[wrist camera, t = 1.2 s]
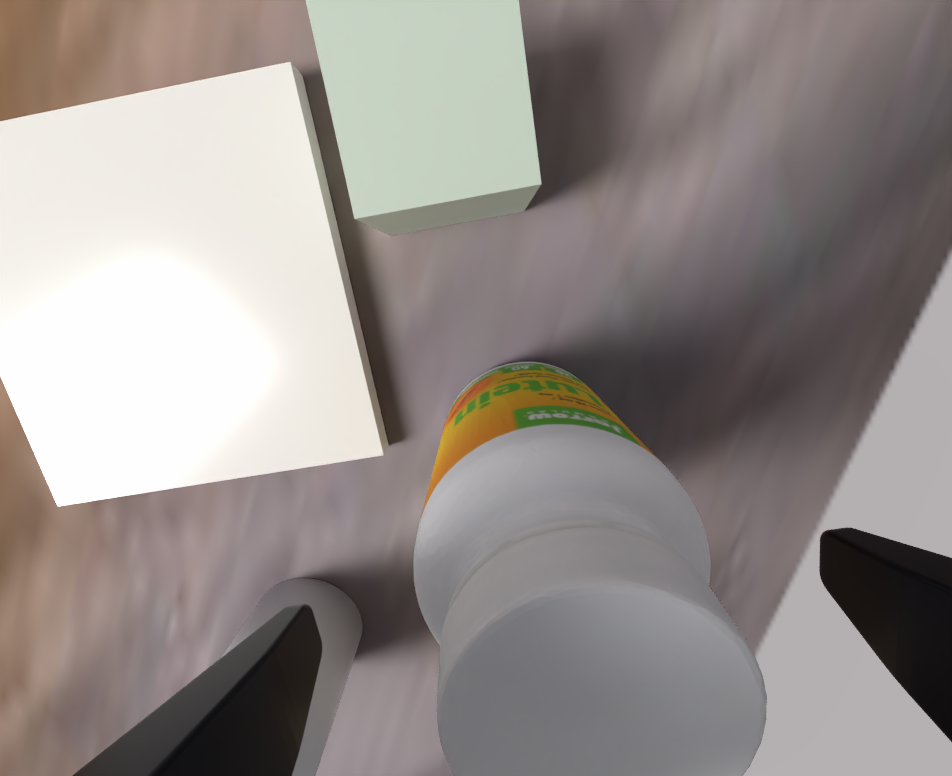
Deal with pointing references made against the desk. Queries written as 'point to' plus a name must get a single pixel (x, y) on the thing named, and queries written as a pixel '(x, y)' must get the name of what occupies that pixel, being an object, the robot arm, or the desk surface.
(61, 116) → the ceramic tile
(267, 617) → the grey capsule
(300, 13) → the desk surface
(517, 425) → the supplement bottle
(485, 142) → the sage block
